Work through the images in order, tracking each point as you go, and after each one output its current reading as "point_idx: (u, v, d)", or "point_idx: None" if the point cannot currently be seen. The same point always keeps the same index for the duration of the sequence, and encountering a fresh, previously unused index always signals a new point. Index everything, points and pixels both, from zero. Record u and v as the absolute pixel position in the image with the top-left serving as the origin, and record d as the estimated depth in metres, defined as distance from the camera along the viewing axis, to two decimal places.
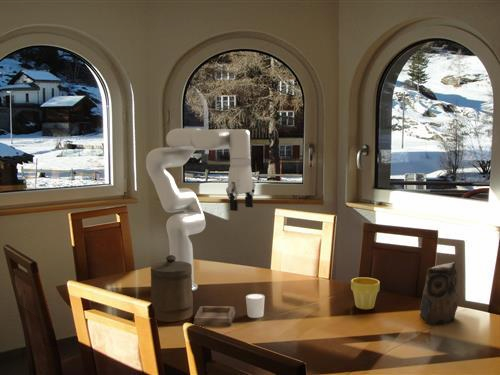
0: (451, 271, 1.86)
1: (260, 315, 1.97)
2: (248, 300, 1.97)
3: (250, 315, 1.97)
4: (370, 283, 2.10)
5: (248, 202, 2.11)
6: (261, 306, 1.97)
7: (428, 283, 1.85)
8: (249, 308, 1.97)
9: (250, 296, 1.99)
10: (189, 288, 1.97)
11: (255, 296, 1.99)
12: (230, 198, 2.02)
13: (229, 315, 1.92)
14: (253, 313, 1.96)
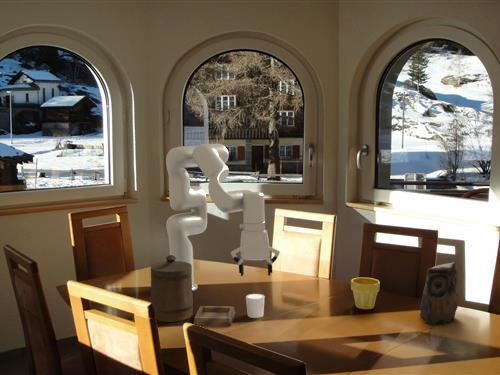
0: (451, 271, 1.86)
1: (260, 315, 1.97)
2: (248, 300, 1.97)
3: (250, 315, 1.97)
4: (370, 283, 2.10)
5: (243, 269, 1.98)
6: (261, 306, 1.97)
7: (428, 283, 1.85)
8: (249, 308, 1.97)
9: (250, 296, 1.99)
10: (189, 288, 1.97)
11: (255, 296, 1.99)
12: None
13: (229, 315, 1.92)
14: (253, 313, 1.96)
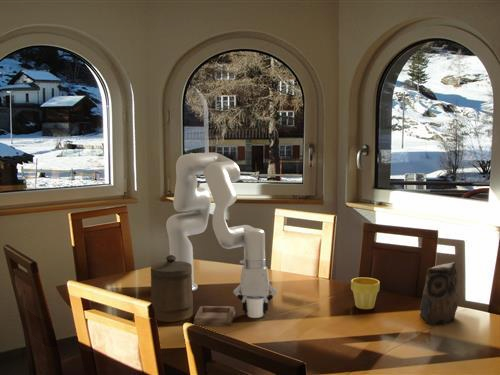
0: (451, 271, 1.86)
1: (260, 315, 1.97)
2: (248, 300, 1.97)
3: (250, 315, 1.97)
4: (370, 283, 2.10)
5: None
6: (261, 306, 1.97)
7: (428, 283, 1.85)
8: (249, 308, 1.97)
9: (250, 296, 1.99)
10: (189, 288, 1.97)
11: (255, 296, 1.99)
12: None
13: (229, 315, 1.92)
14: (253, 313, 1.96)
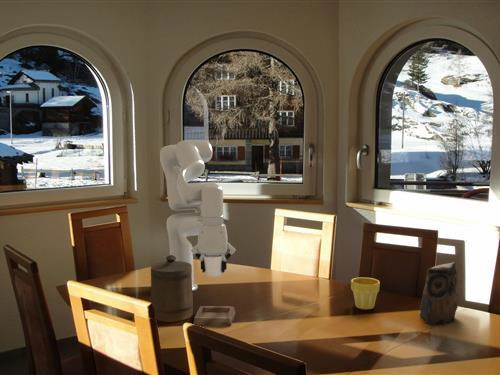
0: (451, 271, 1.86)
1: (218, 274, 1.92)
2: (206, 258, 1.91)
3: (208, 274, 1.92)
4: (370, 283, 2.10)
5: None
6: (219, 264, 1.92)
7: (428, 283, 1.85)
8: (207, 266, 1.92)
9: (208, 254, 1.94)
10: (189, 288, 1.97)
11: (213, 254, 1.94)
12: (227, 258, 1.93)
13: (229, 315, 1.92)
14: (211, 272, 1.91)
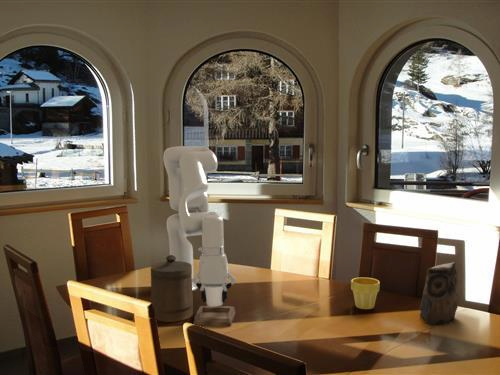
0: (451, 271, 1.86)
1: (219, 303, 1.93)
2: (206, 288, 1.93)
3: (209, 303, 1.93)
4: (370, 283, 2.10)
5: (205, 296, 1.96)
6: (219, 294, 1.93)
7: (428, 283, 1.85)
8: (207, 296, 1.93)
9: (209, 284, 1.95)
10: (189, 288, 1.97)
11: (214, 284, 1.95)
12: (228, 288, 1.94)
13: (229, 315, 1.92)
14: (212, 301, 1.92)
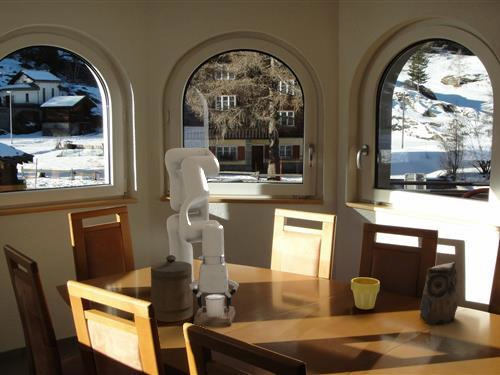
0: (451, 271, 1.86)
1: (219, 316, 1.94)
2: (207, 301, 1.93)
3: (209, 316, 1.94)
4: (370, 283, 2.10)
5: (202, 301, 1.96)
6: (220, 307, 1.93)
7: (428, 283, 1.85)
8: (208, 309, 1.94)
9: (210, 297, 1.96)
10: (189, 288, 1.97)
11: (215, 297, 1.96)
12: (232, 294, 1.94)
13: (229, 315, 1.92)
14: (212, 314, 1.93)
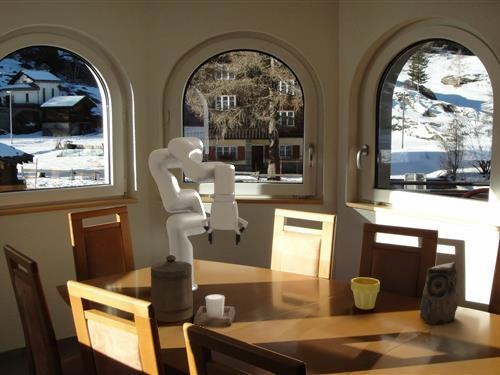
0: (451, 271, 1.86)
1: (219, 316, 1.94)
2: (207, 301, 1.93)
3: (209, 316, 1.94)
4: (370, 283, 2.10)
5: (212, 238, 2.06)
6: (220, 307, 1.93)
7: (428, 283, 1.85)
8: (208, 309, 1.94)
9: (210, 297, 1.96)
10: (189, 288, 1.97)
11: (215, 297, 1.96)
12: (241, 232, 2.03)
13: (229, 315, 1.92)
14: (212, 314, 1.93)
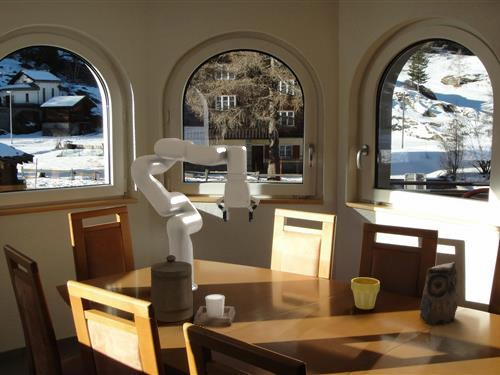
0: (451, 271, 1.86)
1: (219, 316, 1.94)
2: (207, 301, 1.93)
3: (209, 316, 1.94)
4: (370, 283, 2.10)
5: (226, 216, 2.18)
6: (220, 307, 1.93)
7: (428, 283, 1.85)
8: (208, 309, 1.94)
9: (210, 297, 1.96)
10: (189, 288, 1.97)
11: (215, 297, 1.96)
12: (254, 209, 2.16)
13: (229, 315, 1.92)
14: (212, 314, 1.93)
